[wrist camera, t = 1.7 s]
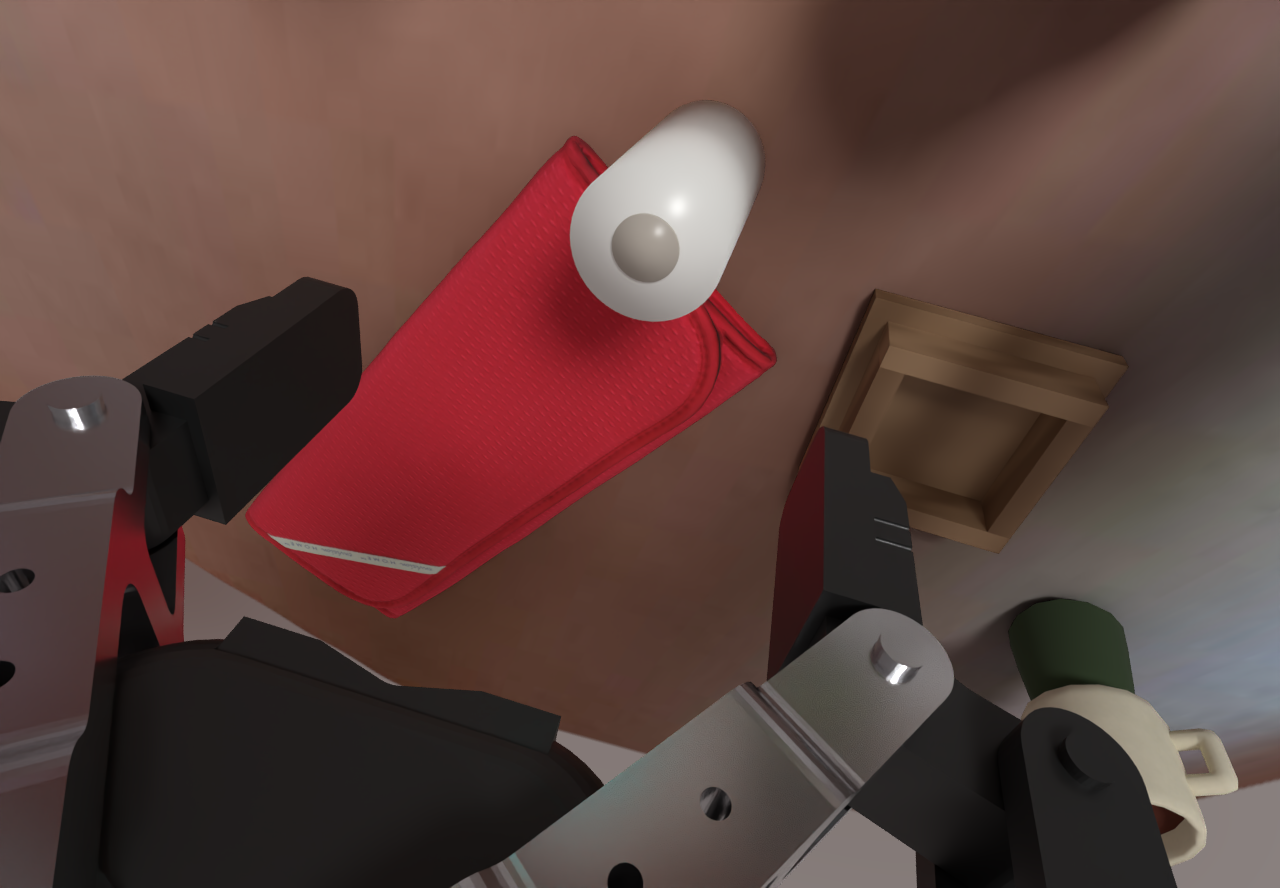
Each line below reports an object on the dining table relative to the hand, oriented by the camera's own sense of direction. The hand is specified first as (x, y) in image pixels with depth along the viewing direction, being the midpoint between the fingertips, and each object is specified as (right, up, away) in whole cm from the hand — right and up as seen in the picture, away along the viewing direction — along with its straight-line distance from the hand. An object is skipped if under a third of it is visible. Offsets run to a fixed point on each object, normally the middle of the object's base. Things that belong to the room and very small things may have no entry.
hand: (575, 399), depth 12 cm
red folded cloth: (-10, 0, +36) cm, 37 cm away
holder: (+17, +1, +26) cm, 31 cm away
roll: (+4, +12, +21) cm, 25 cm away
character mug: (+28, -12, +32) cm, 44 cm away
